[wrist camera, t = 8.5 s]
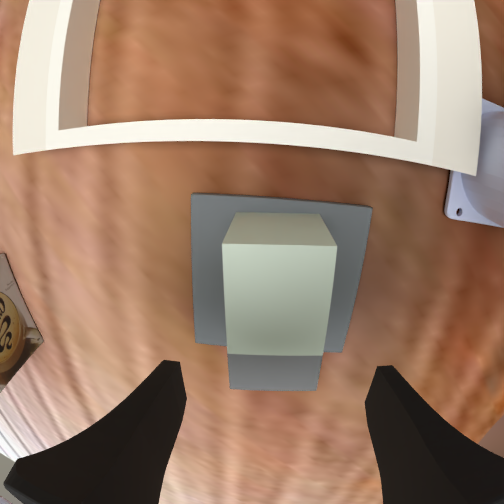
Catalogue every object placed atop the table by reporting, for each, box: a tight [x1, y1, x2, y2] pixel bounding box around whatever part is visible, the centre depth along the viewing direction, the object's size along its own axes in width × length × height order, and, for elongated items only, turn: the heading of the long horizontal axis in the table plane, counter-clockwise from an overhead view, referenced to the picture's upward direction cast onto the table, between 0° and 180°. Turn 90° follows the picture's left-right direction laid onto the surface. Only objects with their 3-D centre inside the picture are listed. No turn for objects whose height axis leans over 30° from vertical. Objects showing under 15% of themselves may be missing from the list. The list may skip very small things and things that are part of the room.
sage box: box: [222, 212, 337, 391], centre depth 16 cm, size 4×8×5 cm, turn 0°
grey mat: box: [191, 193, 372, 352], centre depth 18 cm, size 10×10×1 cm
